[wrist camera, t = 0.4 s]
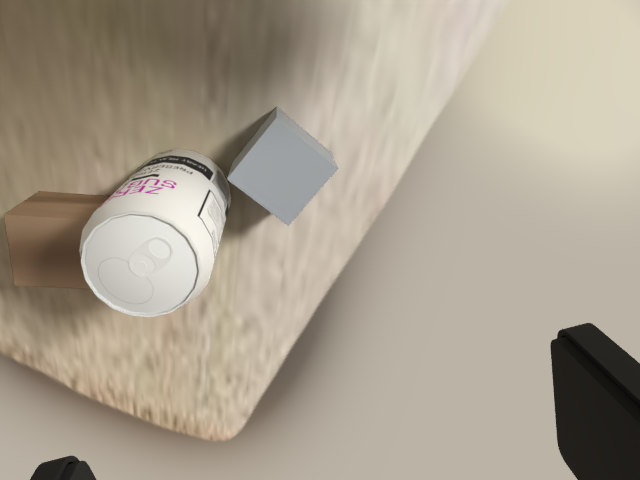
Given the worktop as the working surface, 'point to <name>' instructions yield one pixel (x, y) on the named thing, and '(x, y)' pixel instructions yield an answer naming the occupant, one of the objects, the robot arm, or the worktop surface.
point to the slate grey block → (282, 167)
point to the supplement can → (157, 235)
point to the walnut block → (49, 238)
